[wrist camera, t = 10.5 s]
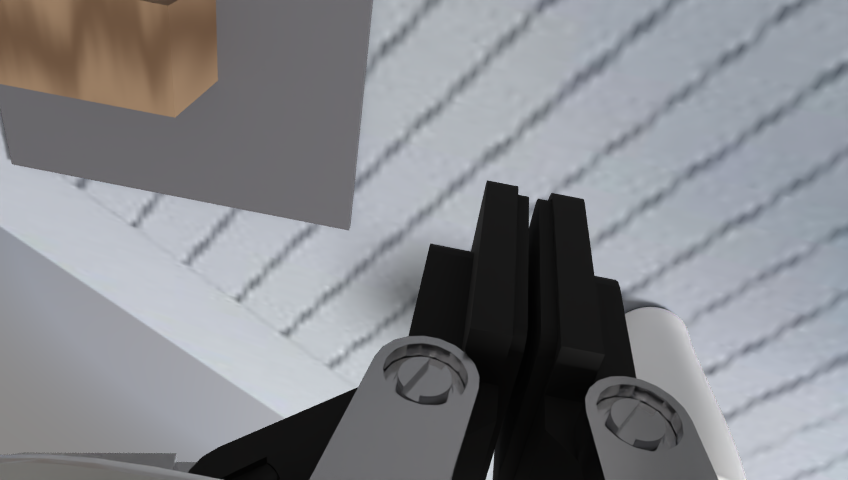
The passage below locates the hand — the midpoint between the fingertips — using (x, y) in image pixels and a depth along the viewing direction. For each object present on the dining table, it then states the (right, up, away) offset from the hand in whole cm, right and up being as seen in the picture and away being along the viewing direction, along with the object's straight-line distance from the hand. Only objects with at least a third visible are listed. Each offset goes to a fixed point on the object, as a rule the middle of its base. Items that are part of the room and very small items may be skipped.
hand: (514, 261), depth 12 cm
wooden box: (-14, +11, +26) cm, 32 cm away
